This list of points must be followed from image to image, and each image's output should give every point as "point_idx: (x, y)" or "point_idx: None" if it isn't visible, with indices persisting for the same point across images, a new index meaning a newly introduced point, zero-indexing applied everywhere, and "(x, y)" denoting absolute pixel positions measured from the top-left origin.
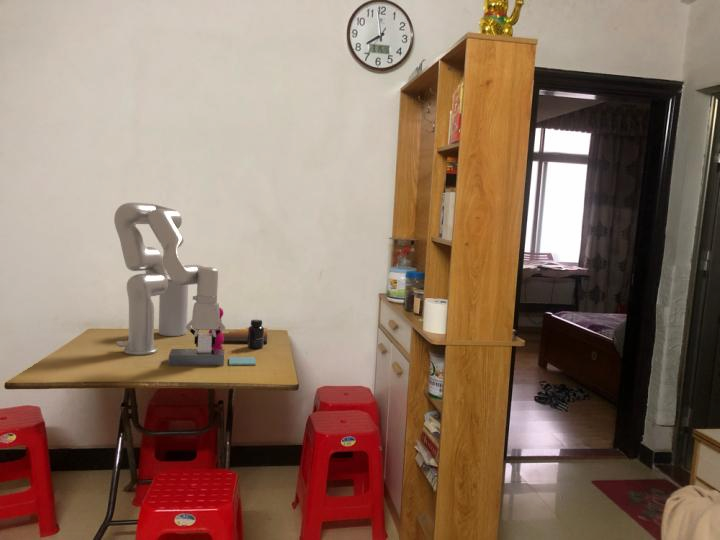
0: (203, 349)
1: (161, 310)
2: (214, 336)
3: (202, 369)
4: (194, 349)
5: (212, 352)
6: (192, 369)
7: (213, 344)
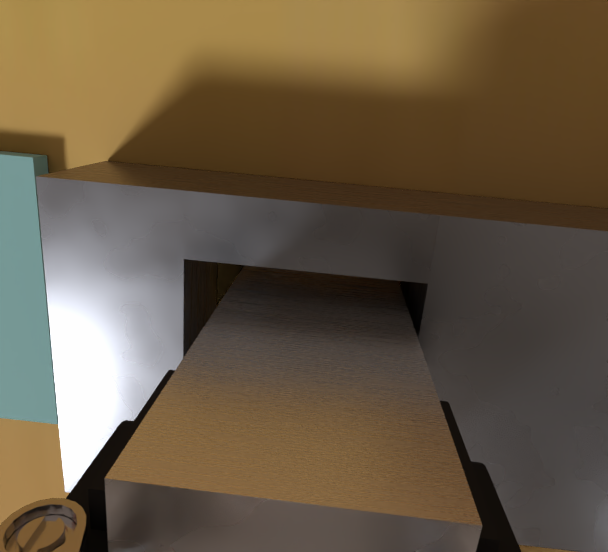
0: (327, 331)
1: None
2: (62, 517)
3: (351, 5)
4: None
5: None
6: (473, 17)
7: None
